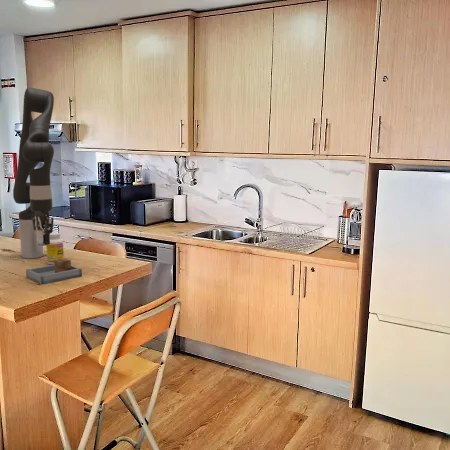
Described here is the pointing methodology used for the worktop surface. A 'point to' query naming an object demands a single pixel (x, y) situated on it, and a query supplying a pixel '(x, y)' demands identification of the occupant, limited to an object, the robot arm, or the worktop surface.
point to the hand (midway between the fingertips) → (43, 243)
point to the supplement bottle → (54, 248)
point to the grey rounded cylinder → (40, 238)
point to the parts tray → (52, 274)
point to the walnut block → (62, 265)
